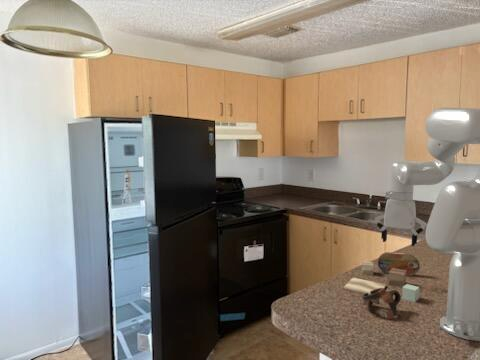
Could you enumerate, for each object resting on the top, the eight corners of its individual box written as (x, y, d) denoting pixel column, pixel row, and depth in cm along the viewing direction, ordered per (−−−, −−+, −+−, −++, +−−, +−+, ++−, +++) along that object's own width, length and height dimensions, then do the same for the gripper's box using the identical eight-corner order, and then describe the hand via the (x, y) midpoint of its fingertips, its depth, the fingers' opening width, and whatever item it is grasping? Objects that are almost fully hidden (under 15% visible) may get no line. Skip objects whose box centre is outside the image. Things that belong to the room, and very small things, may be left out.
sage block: (414, 302, 119) (415, 290, 118) (401, 298, 121) (402, 287, 121) (418, 298, 121) (419, 287, 121) (406, 295, 124) (406, 283, 124)
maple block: (373, 275, 143) (373, 265, 142) (362, 274, 144) (362, 264, 144) (372, 272, 147) (373, 262, 146) (362, 271, 148) (362, 261, 147)
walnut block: (403, 288, 130) (404, 274, 130) (388, 285, 133) (389, 271, 133) (405, 283, 135) (406, 270, 134) (391, 280, 137) (391, 267, 137)
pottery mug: (384, 324, 105) (370, 296, 107) (365, 324, 113) (353, 298, 115) (414, 307, 109) (400, 280, 111) (394, 308, 118) (381, 283, 120)
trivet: (378, 297, 122) (378, 295, 122) (342, 289, 129) (342, 287, 129) (386, 285, 132) (386, 284, 132) (352, 279, 139) (352, 277, 139)
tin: (377, 273, 146) (378, 252, 145) (377, 270, 149) (377, 250, 148) (419, 277, 141) (420, 255, 140) (417, 274, 144) (418, 253, 143)
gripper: (373, 195, 132) (371, 241, 134) (426, 200, 123) (423, 249, 125) (378, 193, 139) (376, 237, 140) (429, 197, 129) (426, 244, 131)
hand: (398, 243), depth 133 cm, fingers open, 9 cm apart
